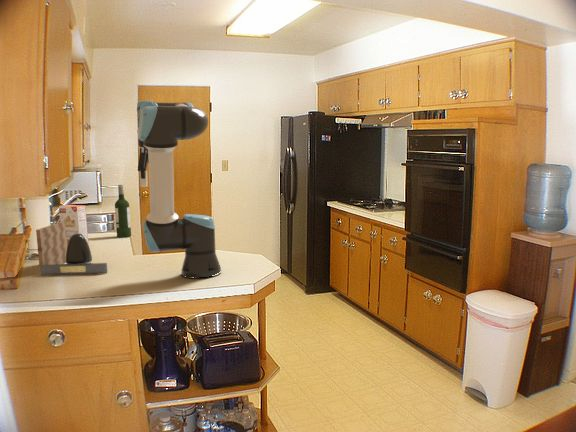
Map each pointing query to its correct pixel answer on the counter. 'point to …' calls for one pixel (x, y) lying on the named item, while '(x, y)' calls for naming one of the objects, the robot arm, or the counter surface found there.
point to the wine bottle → (122, 215)
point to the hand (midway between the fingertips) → (149, 186)
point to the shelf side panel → (52, 244)
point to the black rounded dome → (78, 250)
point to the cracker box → (74, 220)
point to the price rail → (73, 269)
